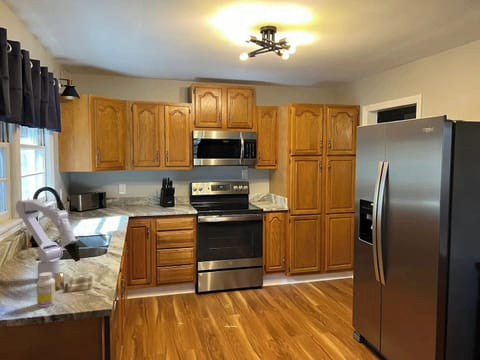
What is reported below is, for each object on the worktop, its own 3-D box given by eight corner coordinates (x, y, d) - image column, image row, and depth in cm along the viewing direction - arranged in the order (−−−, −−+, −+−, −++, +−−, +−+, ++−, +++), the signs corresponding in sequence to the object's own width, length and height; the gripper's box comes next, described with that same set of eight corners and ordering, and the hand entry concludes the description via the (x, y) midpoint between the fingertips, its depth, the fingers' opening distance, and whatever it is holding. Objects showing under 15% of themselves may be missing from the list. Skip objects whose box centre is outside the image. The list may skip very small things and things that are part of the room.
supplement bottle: (46, 300, 151) (45, 270, 150) (59, 302, 149) (58, 272, 148) (33, 306, 145) (32, 275, 144) (46, 308, 143) (45, 277, 142)
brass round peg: (53, 290, 162) (53, 275, 161) (54, 287, 165) (54, 272, 165) (63, 289, 163) (63, 274, 163) (64, 286, 167) (64, 271, 166)
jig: (67, 291, 160) (67, 286, 160) (69, 283, 171) (69, 278, 171) (91, 289, 164) (91, 283, 164) (92, 280, 175) (92, 275, 175)
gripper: (73, 227, 165) (83, 254, 163) (77, 233, 179) (86, 258, 176) (57, 233, 163) (67, 260, 160) (62, 239, 176) (72, 264, 173)
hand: (76, 259), depth 168 cm, fingers open, 7 cm apart
